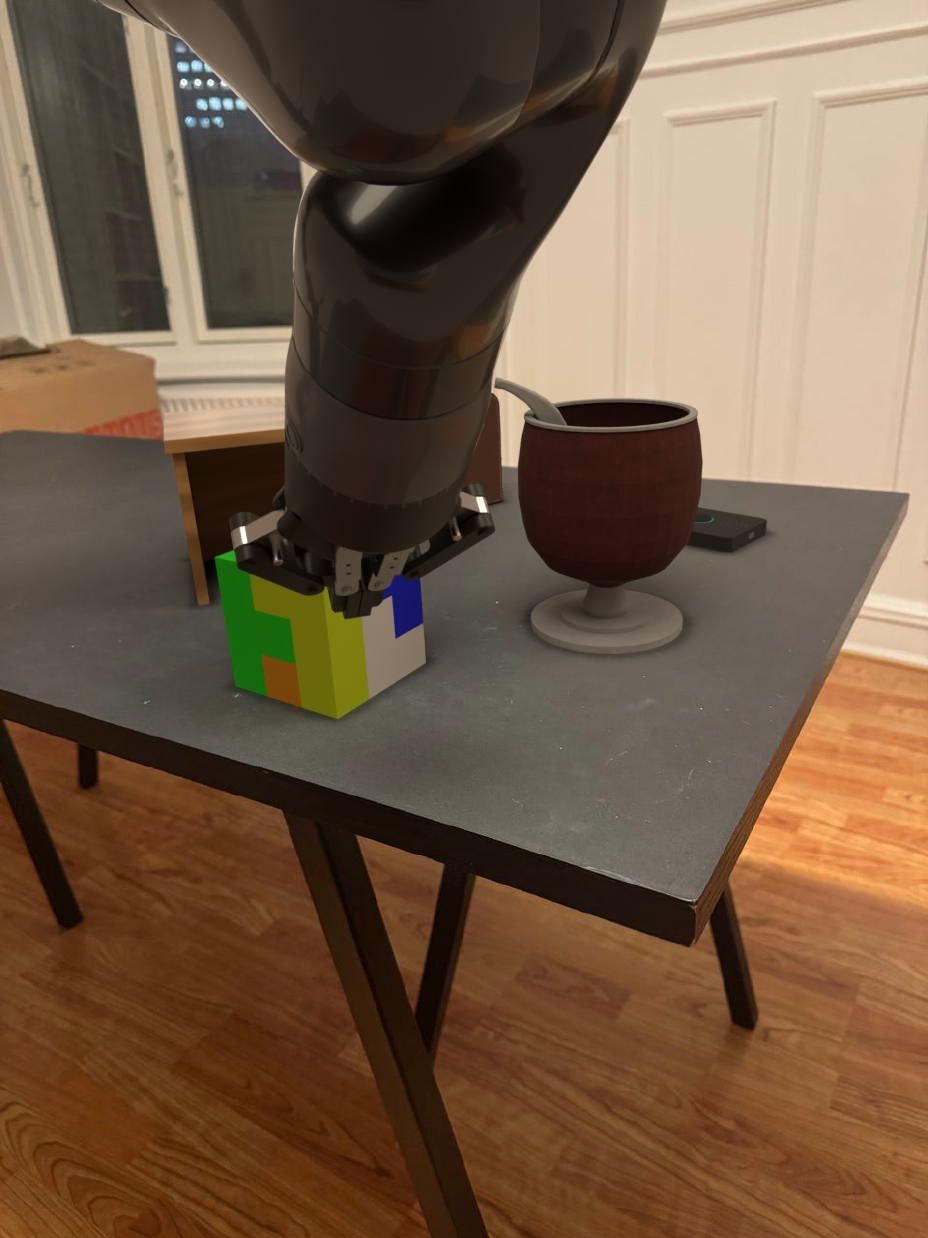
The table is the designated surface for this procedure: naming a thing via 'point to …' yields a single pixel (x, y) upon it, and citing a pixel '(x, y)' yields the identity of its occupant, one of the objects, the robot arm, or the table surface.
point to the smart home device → (725, 530)
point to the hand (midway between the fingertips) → (352, 602)
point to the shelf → (224, 473)
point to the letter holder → (488, 456)
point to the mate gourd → (607, 512)
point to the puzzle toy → (317, 641)
